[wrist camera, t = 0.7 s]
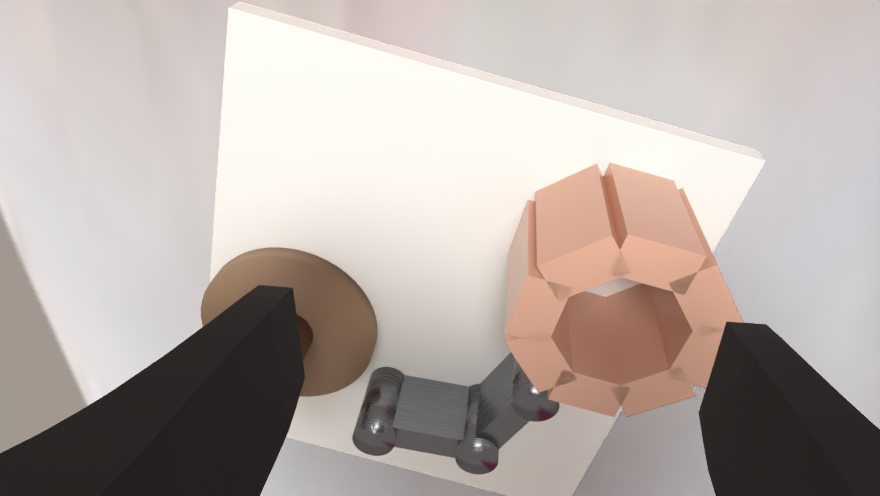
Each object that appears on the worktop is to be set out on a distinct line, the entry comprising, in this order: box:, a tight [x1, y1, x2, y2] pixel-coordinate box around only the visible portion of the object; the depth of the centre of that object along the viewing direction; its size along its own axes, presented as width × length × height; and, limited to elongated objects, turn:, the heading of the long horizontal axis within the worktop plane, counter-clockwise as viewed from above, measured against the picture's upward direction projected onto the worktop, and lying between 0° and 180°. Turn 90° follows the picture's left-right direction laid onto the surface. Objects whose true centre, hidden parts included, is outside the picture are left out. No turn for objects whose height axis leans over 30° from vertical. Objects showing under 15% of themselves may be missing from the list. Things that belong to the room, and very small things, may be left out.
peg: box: [201, 247, 377, 397], centre depth 21 cm, size 6×6×5 cm
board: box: [209, 1, 765, 496], centre depth 22 cm, size 15×16×1 cm
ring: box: [504, 162, 743, 417], centre depth 18 cm, size 6×6×4 cm
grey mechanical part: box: [352, 352, 559, 474], centre depth 22 cm, size 6×5×3 cm
